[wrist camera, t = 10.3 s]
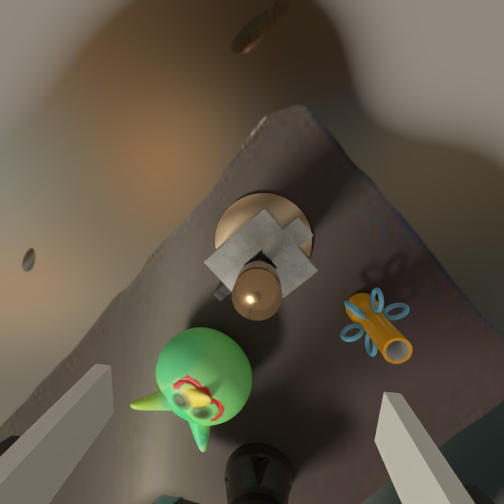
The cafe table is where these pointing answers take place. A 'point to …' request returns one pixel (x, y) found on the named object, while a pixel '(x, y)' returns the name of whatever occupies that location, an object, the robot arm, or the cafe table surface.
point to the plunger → (257, 289)
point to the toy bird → (200, 380)
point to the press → (271, 243)
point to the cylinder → (377, 326)
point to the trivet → (251, 205)
